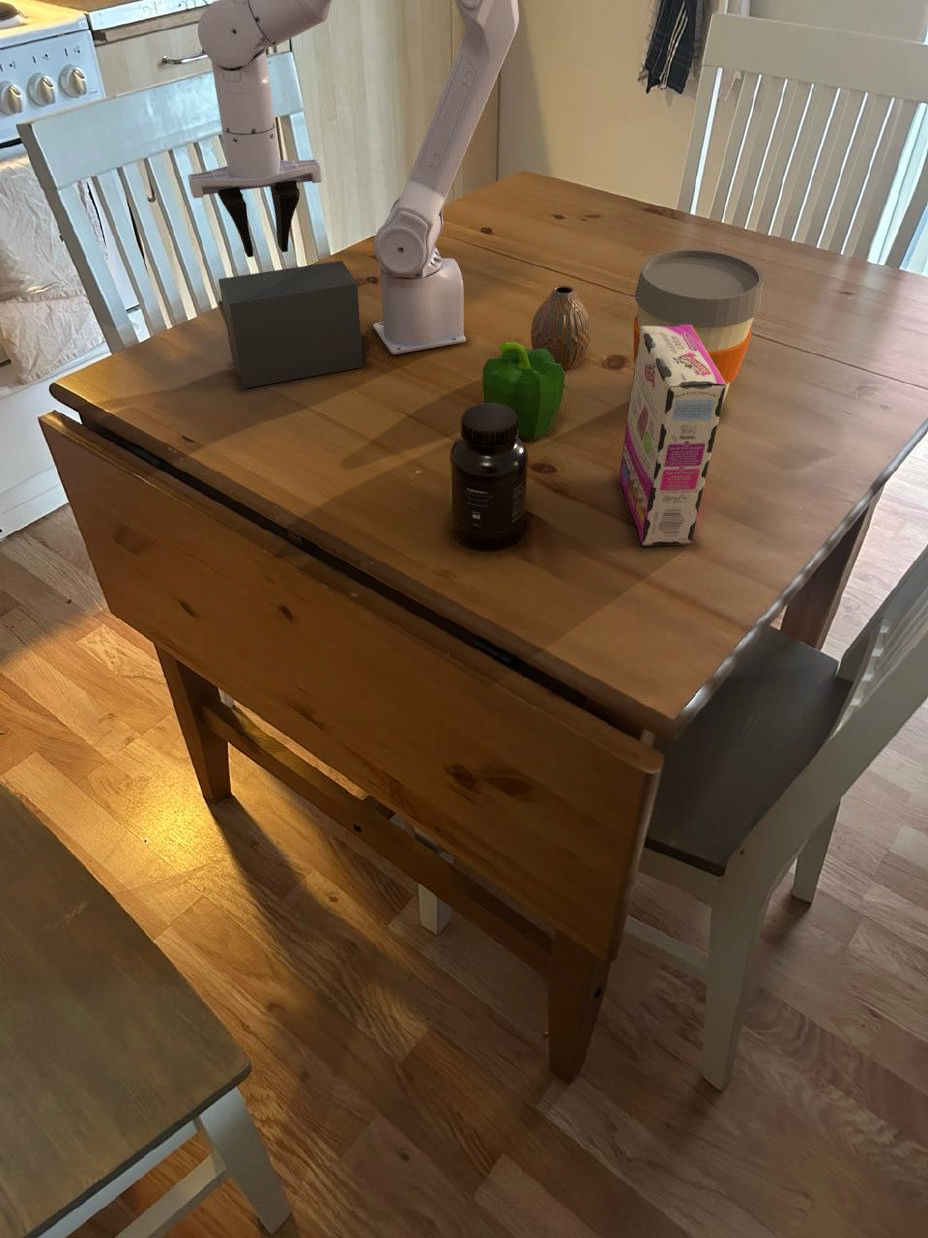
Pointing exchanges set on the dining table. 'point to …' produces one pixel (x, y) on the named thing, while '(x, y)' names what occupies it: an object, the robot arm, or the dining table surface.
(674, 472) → the candy bar box
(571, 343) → the vase
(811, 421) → the dining table surface
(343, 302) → the grey tool caddy
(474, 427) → the supplement bottle
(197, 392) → the dining table surface
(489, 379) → the bell pepper
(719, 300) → the reusable coffee cup
